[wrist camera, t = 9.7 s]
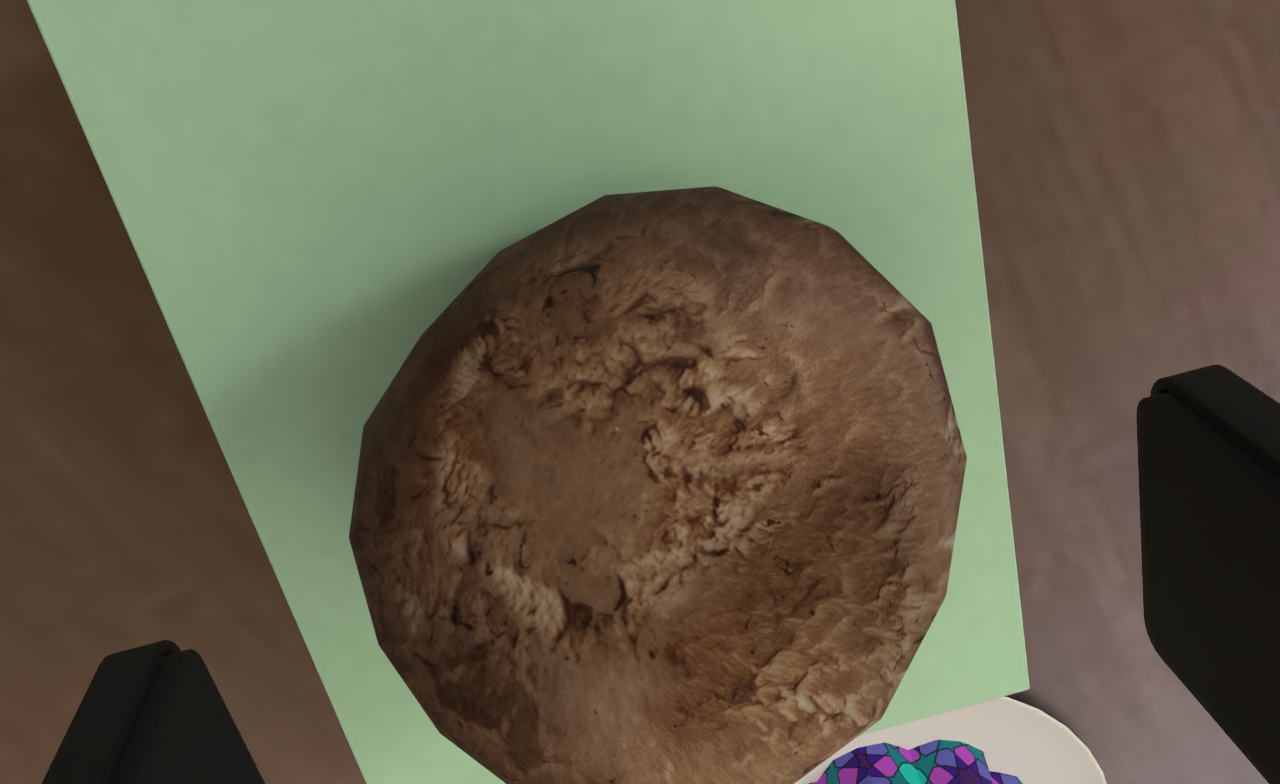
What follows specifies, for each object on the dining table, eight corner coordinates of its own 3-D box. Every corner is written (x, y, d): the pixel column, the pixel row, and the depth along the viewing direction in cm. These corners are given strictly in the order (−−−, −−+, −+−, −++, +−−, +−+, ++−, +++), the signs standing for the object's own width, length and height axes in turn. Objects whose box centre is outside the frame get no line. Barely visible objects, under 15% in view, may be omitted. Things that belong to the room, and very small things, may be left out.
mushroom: (1023, 740, 16) (999, 909, 10) (525, 750, 19) (283, 889, 13) (953, 196, 17) (892, 65, 11) (480, 281, 20) (233, 213, 14)
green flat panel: (35, -21, 14) (17, -18, 14) (913, -243, 15) (930, -249, 14) (401, 837, 20) (399, 862, 20) (1016, 669, 21) (1031, 690, 20)
